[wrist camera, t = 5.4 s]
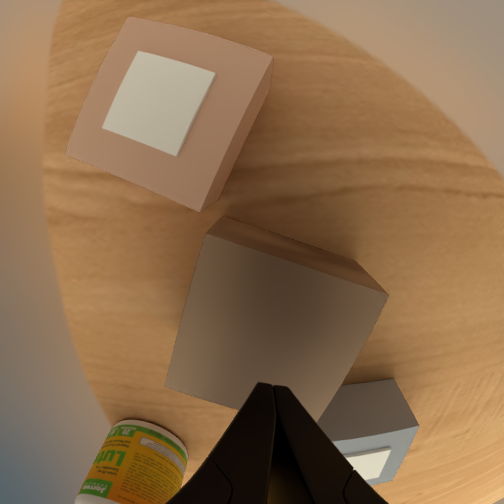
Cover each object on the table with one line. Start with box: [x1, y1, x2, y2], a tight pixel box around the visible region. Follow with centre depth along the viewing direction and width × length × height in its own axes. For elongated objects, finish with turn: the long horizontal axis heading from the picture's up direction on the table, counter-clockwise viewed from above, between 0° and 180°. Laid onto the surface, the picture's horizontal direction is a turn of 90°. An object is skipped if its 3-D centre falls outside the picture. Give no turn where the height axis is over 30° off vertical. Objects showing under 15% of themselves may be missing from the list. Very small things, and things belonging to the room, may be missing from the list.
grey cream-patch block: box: [316, 378, 419, 486], centre depth 13 cm, size 5×5×4 cm
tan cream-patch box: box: [65, 17, 274, 212], centre depth 9 cm, size 5×5×4 cm
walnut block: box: [164, 216, 389, 422], centre depth 11 cm, size 6×6×4 cm
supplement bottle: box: [74, 420, 188, 504], centre depth 11 cm, size 5×5×10 cm
